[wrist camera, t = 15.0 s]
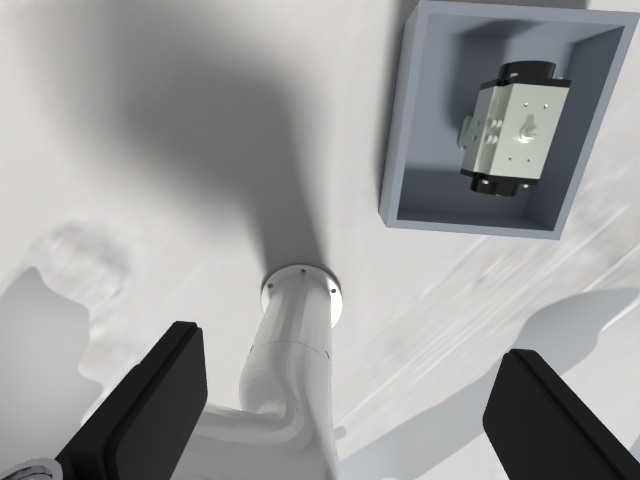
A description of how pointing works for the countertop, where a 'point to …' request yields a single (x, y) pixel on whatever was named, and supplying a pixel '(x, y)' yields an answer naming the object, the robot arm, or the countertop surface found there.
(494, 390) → the robot arm
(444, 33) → the parts bin
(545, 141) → the pneumatic valve
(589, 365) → the countertop surface
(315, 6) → the countertop surface
